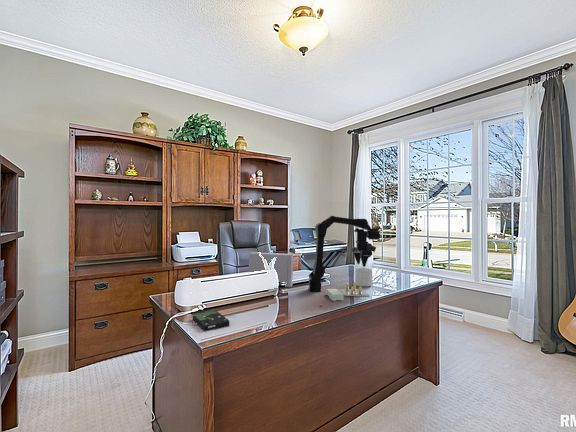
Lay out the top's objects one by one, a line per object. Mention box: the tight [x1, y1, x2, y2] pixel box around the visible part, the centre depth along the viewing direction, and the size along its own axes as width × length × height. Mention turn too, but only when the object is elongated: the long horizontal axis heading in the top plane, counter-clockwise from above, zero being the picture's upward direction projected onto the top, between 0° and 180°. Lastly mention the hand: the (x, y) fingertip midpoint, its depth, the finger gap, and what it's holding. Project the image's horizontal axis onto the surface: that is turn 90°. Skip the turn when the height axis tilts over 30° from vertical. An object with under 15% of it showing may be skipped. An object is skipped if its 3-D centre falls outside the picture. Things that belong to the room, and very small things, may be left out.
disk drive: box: [192, 310, 230, 332], centre depth 120 cm, size 10×3×15 cm
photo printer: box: [355, 265, 373, 287], centre depth 188 cm, size 10×4×12 cm, turn 86°
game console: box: [248, 251, 294, 288], centre depth 186 cm, size 6×27×20 cm, turn 78°
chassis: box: [338, 282, 370, 297], centre depth 169 cm, size 14×12×5 cm
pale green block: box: [326, 288, 345, 302], centre depth 160 cm, size 6×12×4 cm, turn 7°
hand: (361, 265), depth 178 cm, fingers open, 9 cm apart
